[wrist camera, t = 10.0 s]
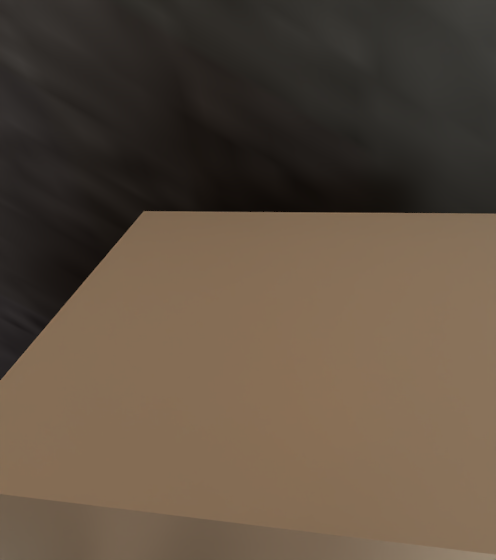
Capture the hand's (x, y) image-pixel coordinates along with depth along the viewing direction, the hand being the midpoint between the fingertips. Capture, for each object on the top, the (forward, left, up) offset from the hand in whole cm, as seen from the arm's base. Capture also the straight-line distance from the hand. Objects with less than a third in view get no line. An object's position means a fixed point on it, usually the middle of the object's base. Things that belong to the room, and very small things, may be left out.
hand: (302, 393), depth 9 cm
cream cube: (0, 0, -2) cm, 2 cm away
